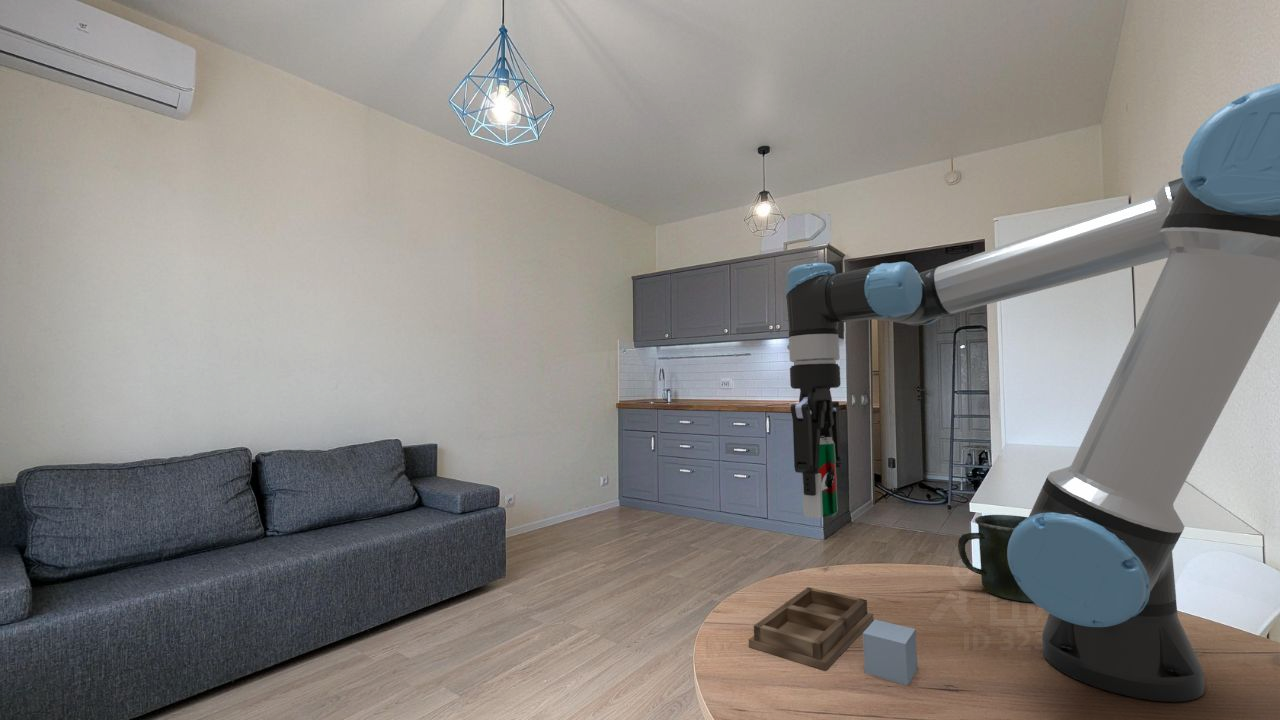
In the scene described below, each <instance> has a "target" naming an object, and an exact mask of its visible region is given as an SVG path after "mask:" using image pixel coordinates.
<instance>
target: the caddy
mask: <svg viewBox="0 0 1280 720" xmlns="http://www.w3.org/2000/svg"><path fill="white" fill-rule="evenodd" d="M873 621H874V614H873V613H871V612H868V602H867V599H864V598H859V597H855V596H849V595H846V594H841V593H836V592H832V591H826V590H823V589H818V588H814V587H809V586H807V587H806V588H805V589H803V590H801V591H800V592H799V593H798V594H796V595H795V596H793V597H792V598H791V599H789V600H787V601H786V602H785V603H784V604H782V605H781V606H779V607H778V608H776V609H774V611H772V612H770V614H768V615H767V616H766V617H764V618H763V619H760V621H758V622H757V623H755V624H754V625H753V636H752V637H750V638H749V639H748V648H752V649H755V650H758V651H762V652H764V653H767V654H770V655H773V656H777V657H781V658H784V659H787V660H790V661H793V662H796V663H799V664H803V665H805V666H809V667H812V668H814V669H815V668H816V669H819V670H821V671H825V672H826V671H827V670H828V669H829V668H830V667H831V666H832V665H833V664H834V663H835V662H836V661H837V660H838V658H840V657H841V655H842V654H843V653H844V652H845V651H846V650H847V649H848V648H849V647H850V646H851V645H852V644H853V643H854V642H855V640H856V639H857V638H858V637H859V636H860V635H861V634H863V632H864V631H865V630H866V629H867V628H868V627H869V626H870V624H871V623H872V622H873Z"/></svg>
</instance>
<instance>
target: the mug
mask: <svg viewBox="0 0 1280 720" xmlns="http://www.w3.org/2000/svg"><path fill="white" fill-rule="evenodd" d="M1028 517H1029V516H1021V515H1012V514H985V515H980V516H977V517H975V519H974V522H975V523H976V524H977V525H978V526H977V528H978V532H969V533H964V534H961V536H960V537H959V538H958V542H957V549H958V554H959V557H960V559H961V561H962V563H963V564H964V565H965V566H966V568H967V569H968V570H970V571H971V572H973V573H974V574H978V575H980V576H981V585H982V587H983V588H984V590H985V591H986V592H988V593H989V594H992V595H993V596H997V597H1000V598H1004V599H1008V600H1013V601H1019V602H1025V603H1028V602H1029V603H1034V602H1033V601H1032V600H1031V599H1030V598H1029V597H1028V596H1027V595H1026V594H1025V593H1024V592H1023V590H1022V589H1021V588H1020V587H1019V585H1018V583H1017V582H1016V580H1015V578H1014V576H1013V574H1012V573H1011V570H1010V567H1009V564H1008V558H1007V548H1008V543H1009V540H1010V537H1011V535H1012V533H1013V530H1014V529H1015V527H1017V526H1018V525H1019V523H1020V522H1022V521H1023V520H1025V519H1026V518H1028ZM970 540H971V541H972V540H979V541H978V543H979V544H978V545H979V555H980V556H979V558H980V568H978V567H975V566H974V565H973V564H972V563H971V561H970V560H969V557H968V556H967V552H966V544H967V543H968V542H969V541H970Z"/></svg>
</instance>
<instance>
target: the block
mask: <svg viewBox="0 0 1280 720" xmlns="http://www.w3.org/2000/svg"><path fill="white" fill-rule="evenodd" d="M916 632H917V630H916V628H912V627H908V626H903V625H899V624H895V623H891V622H886V621H882V620H879V619H878V620H877V619H873V621H872V622H871V623H870V624H869V626H868V627H867V628H866V629H865V630H864V631H863V632H862V646H863V647H862V648H863V665H864V667H863V668H864V674H866V675H869V676H873V677H876V678H880V679H883V680H887V681H890V682H893V683H897V684H900V685H904V686H906V687H907V686H909V684H910V682H911V681H912V679H913V677H914V676H915V674H916V672H917V671H918V668H919V667H918V651H917V649H918V648H917V633H916Z"/></svg>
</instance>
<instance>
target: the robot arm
mask: <svg viewBox="0 0 1280 720" xmlns="http://www.w3.org/2000/svg"><path fill="white" fill-rule="evenodd" d="M1180 174H1181V177H1180V178H1177V179H1174V180H1172V181H1171V180H1170V181H1168V182H1165V183H1164V184H1163V185H1162V187H1161V188H1160V189H1159V190H1158V192H1157V193H1156V194H1155V195H1153V196H1150V197H1147V198H1144V199H1141V200H1138V201H1134V202H1132V203H1129V204H1126V205H1122V206H1120V207H1117V208H1114V209H1110V210H1107V211H1105V212H1101V213H1098V214H1095V215H1092V216H1088V217H1086V218H1083V219H1080V220H1077V221H1074V222H1071V223H1067V224H1065V225H1064V224H1063V225H1062V226H1058V227H1056V228H1052V229H1049V230H1045V231H1043V232H1040V233H1036V234H1034V235H1031V236H1028V237H1025V238H1022V239H1019V240H1016V241H1013V242H1010V243H1006V244H1003V245H1000V246H998V247H994V248H992V249H988V250H986V251H982V252H979V253H976V254H973V255H970V256H966V257H964V258H962V259H958V260H955V261H952V262H948V263H947V264H943V265H940V266H937V267H935V268H931V269H928V270H925V271H922V272H918V270H916V268H915V266H914V265H913V264H912V263H911V262H908V261H898V262H891V263H890V262H889V263H888V262H884V263H880V264H877V265H873V266H869V267H864V268H863V267H862V268H859V269H855V270H851V271H844V272H840V273H839V272H838V273H836V268H835V266H834V265H833V264H831V263H827V262H812V263H803V264H800V265H796V266H794V267H792V268H791V269H789V270H788V272H787V274H786V293H785V299H786V307H787V318H788V319H787V320H788V321H787V322H788V344H787V346H786V347H787V348H786V349H787V350H789V353H788V354H789V361H790V362H791V363H793V365H791V366H790V368H789V381H790V384H789V385H790V387H791V389H798V390H799V396H798V397H799V398H798V403H795V404H794V403H791V405H790V412H791V417H792V433H793V435H792V436H793V437H792V438H793V467H794V471H795V473H797V474H799V473H800V474H801V478H802V479H801V480H802V482H801V483H802V484H801V485H802V498H803V499H802V504H803V509H802V510H803V516H804V517H811V518H818V519H822V518H824V517H823V505H822V482H821V473H818V464H819V447H820V436H831V437H832V440H833V442H834V443H835V458H836V469H841V468H842V465H843V464H842V462H841V460H842V457H841V438H840V420H839V419H840V418H839V415H840V413H839V412H840V403H839V401H833V397H832V394H831V389H836V388H839V387H840V386H841V369H840V368H841V366H840V365H839V364H837V361H839V360H840V359H841V358H840V357H841V356H840V341H839V339H840V338H839V324H840V323H848V322H857V321H858V322H859V321H868V320H871V321H872V320H876V321H883V322H884V321H885V322H890V323H898V324H899V323H900V324H905V325H908V326H913V327H915V326H922V325H923V326H925V325H926V326H927V325H930V324H933V323H935V322H937V321H939V319H941V318H942V317H945V316H946V317H947V316H949V315H952V314H955V313H959V312H962V311H966V310H967V311H968V310H970V309H974V308H979V307H982V306H987V305H990V304H993V303H997V302H1001V301H1006V300H1009V299H1013V298H1019V297H1021V296H1024V295H1029V294H1033V293H1036V292H1040V291H1043V290H1048V289H1052V288H1056V287H1060V286H1063V285H1068V284H1071V283H1074V282H1078V281H1083V280H1087V279H1090V278H1095V277H1099V276H1102V275H1106V274H1109V273H1113V272H1114V273H1115V272H1118V271H1121V270H1126V269H1128V268H1133V267H1137V266H1141V265H1144V264H1149V263H1153V262H1157V261H1160V260H1164V259H1167V260H1166V262H1165V264H1164V266H1163V268H1162V270H1161V273H1160V274H1159V277H1158V279H1157V281H1156V283H1155V286H1154V287H1153V289H1152V292H1151V293H1150V297H1149V298H1148V300H1147V303H1146V305H1145V307H1144V309H1143V310H1142V313H1141V315H1140V318H1139V319H1138V322H1137V324H1136V325H1135V328H1134V330H1133V332H1132V334H1131V337H1130V339H1129V341H1128V343H1127V346H1126V347H1125V350H1124V352H1123V353H1122V355H1121V358H1120V360H1119V362H1118V365H1117V367H1116V369H1115V371H1114V372H1113V375H1112V377H1111V380H1110V382H1109V383H1108V386H1107V388H1106V391H1105V393H1104V394H1103V397H1102V399H1101V401H1100V403H1099V406H1098V408H1097V410H1096V412H1095V414H1094V416H1093V419H1092V420H1091V422H1090V424H1089V426H1088V428H1087V431H1086V433H1085V436H1084V437H1083V439H1082V442H1081V444H1080V446H1079V448H1078V450H1077V452H1076V455H1075V456H1074V459H1073V461H1072V463H1071V465H1069V466H1067V467H1064V468H1060V469H1057V470H1054V471H1051V472H1048V475H1047V477H1046V479H1045V481H1044V483H1043V485H1042V488H1041V489H1040V492H1039V493H1038V496H1037V498H1036V501H1035V502H1034V505H1033V506H1032V509H1031V511H1030V513H1029V515H1028V516H1027V517H1028V518H1026V519H1025V520H1023V521H1022V522H1020V523H1019V525H1018V526H1017V527H1015V529H1014V530H1013V533H1012V535H1011V537H1010V540H1009V543H1008V548H1007V558H1008V564H1009V567H1010V570H1011V573H1012V574H1013V576H1014V578H1015V580H1016V582H1017V583H1018V585H1019V587H1020V588H1021V589H1022V590H1023V592H1024V593H1025V594H1026V595H1027V596H1028V597H1029V598H1030V599H1031V600H1032V601H1033V602H1032V603H1034V604H1036V606H1038V607H1039V608H1040V609H1042V610H1044V611H1045V612H1046V613H1049V614H1048V615H1047V616H1048V617H1047V619H1046V622H1045V625H1044V628H1043V631H1042V636H1041V644H1042V654H1043V656H1044V658H1045V660H1046V661H1047V662H1048V663H1049V664H1050V665H1051V666H1053V667H1054V669H1057V670H1058V671H1060V672H1062V673H1063V674H1065V675H1067V676H1069V677H1070V678H1073V679H1075V680H1077V681H1080V682H1081V683H1084V684H1087V685H1089V686H1093V687H1094V688H1099V689H1101V690H1104V691H1107V692H1111V693H1113V694H1114V693H1115V694H1118V695H1121V696H1122V695H1123V696H1126V697H1131V698H1136V699H1142V700H1147V701H1157V702H1170V703H1171V702H1172V703H1173V702H1176V703H1177V702H1178V703H1179V702H1188V701H1194V700H1197V699H1199V698H1201V697H1202V696H1203V695H1204V693H1205V690H1206V687H1205V678H1204V670H1203V667H1202V665H1201V663H1200V661H1199V659H1198V657H1197V656H1198V655H1197V654H1196V653H1195V650H1194V648H1193V646H1192V644H1191V642H1190V640H1189V638H1188V635H1187V633H1186V631H1185V630H1184V627H1183V625H1182V622H1181V621H1180V618H1179V616H1178V615H1179V613H1178V605H1177V593H1176V590H1177V589H1176V580H1175V570H1174V559H1173V550H1174V548H1175V547H1176V545H1177V544H1178V541H1179V539H1180V537H1181V536H1182V534H1183V532H1184V529H1185V525H1184V523H1183V521H1182V520H1181V518H1180V516H1179V515H1178V513H1177V511H1176V509H1175V507H1174V503H1175V501H1176V499H1177V497H1178V496H1179V494H1180V492H1181V490H1182V488H1183V486H1184V484H1185V482H1186V480H1187V478H1188V476H1189V475H1190V473H1191V471H1192V469H1193V467H1194V465H1195V464H1196V461H1197V460H1198V458H1199V456H1200V454H1201V452H1202V450H1203V448H1204V446H1205V444H1206V443H1207V440H1208V438H1209V437H1210V435H1211V433H1212V431H1213V430H1214V427H1215V426H1216V423H1217V422H1218V419H1219V418H1220V417H1221V414H1222V412H1223V410H1224V408H1225V406H1226V404H1227V402H1228V401H1229V399H1230V396H1231V395H1232V394H1233V391H1234V389H1235V388H1236V386H1237V384H1238V382H1239V380H1240V378H1241V376H1242V374H1243V372H1244V370H1245V369H1246V367H1247V365H1248V363H1249V361H1250V359H1251V357H1252V355H1253V353H1254V352H1255V349H1256V348H1257V346H1258V344H1259V341H1260V340H1261V338H1262V336H1263V334H1264V332H1265V330H1266V328H1267V327H1268V324H1269V323H1270V321H1271V319H1272V318H1273V316H1274V314H1275V311H1276V310H1277V308H1278V307H1279V306H1278V305H1279V304H1280V82H1278V83H1274V84H1270V85H1267V86H1263V87H1261V88H1259V89H1256V90H1253V91H1250V92H1248V93H1246V94H1245V95H1242V96H1240V97H1238V98H1236V99H1235V100H1233V101H1231V102H1229V103H1227V104H1226V105H1224V106H1223V107H1221V108H1220V109H1218V110H1217V111H1216V112H1214V113H1213V114H1212V115H1211V116H1210V117H1209V118H1207V120H1205V121H1204V122H1203V123H1202V124H1201V125H1200V126H1199V128H1198V129H1197V130H1196V131H1195V133H1194V134H1193V136H1192V137H1191V139H1190V141H1189V143H1188V145H1187V147H1186V148H1185V151H1184V153H1183V156H1182V163H1181V166H1180Z"/></svg>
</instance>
